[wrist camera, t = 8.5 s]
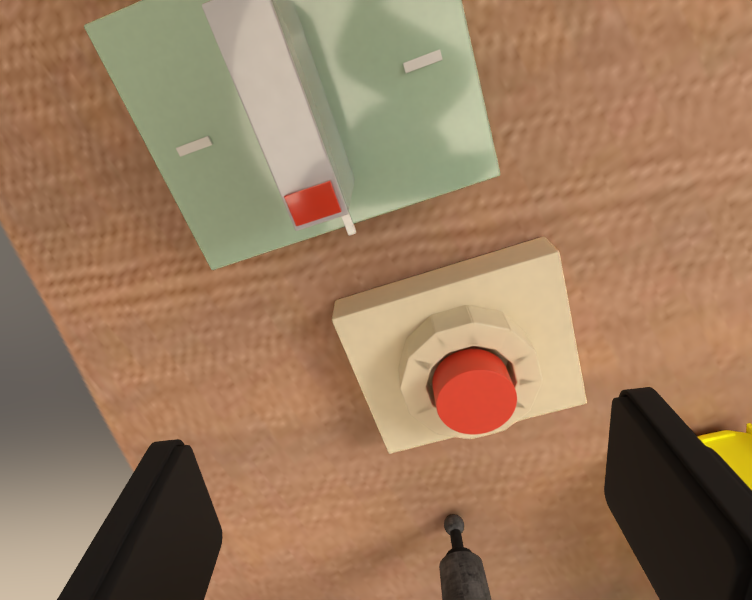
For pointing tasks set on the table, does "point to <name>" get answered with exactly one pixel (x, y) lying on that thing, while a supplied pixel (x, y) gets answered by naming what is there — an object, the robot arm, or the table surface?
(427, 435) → the beige button housing
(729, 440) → the yellow toy chassis
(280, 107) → the red-tabbed grey block
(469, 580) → the microphone
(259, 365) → the table surface
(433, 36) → the base
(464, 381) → the button
